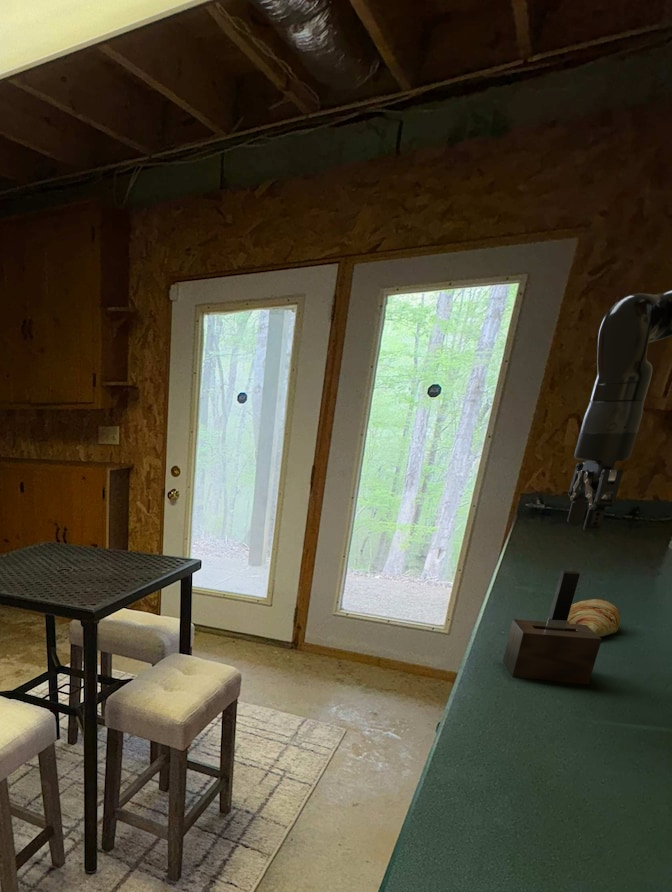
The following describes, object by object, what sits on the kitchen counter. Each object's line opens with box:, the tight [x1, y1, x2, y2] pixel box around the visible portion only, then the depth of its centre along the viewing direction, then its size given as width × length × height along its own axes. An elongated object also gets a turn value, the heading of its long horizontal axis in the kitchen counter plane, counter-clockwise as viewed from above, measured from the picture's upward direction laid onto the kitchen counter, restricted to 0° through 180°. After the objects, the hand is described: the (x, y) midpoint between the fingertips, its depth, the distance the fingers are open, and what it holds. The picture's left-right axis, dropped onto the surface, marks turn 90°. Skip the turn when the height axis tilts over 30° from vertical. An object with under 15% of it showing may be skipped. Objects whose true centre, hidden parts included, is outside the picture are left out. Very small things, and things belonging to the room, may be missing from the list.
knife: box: [545, 570, 581, 631], centre depth 118 cm, size 3×2×20 cm, turn 68°
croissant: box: [567, 598, 621, 638], centre depth 142 cm, size 21×10×8 cm, turn 141°
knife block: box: [502, 618, 603, 685], centre depth 120 cm, size 12×8×9 cm
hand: (582, 526), depth 111 cm, fingers open, 8 cm apart
